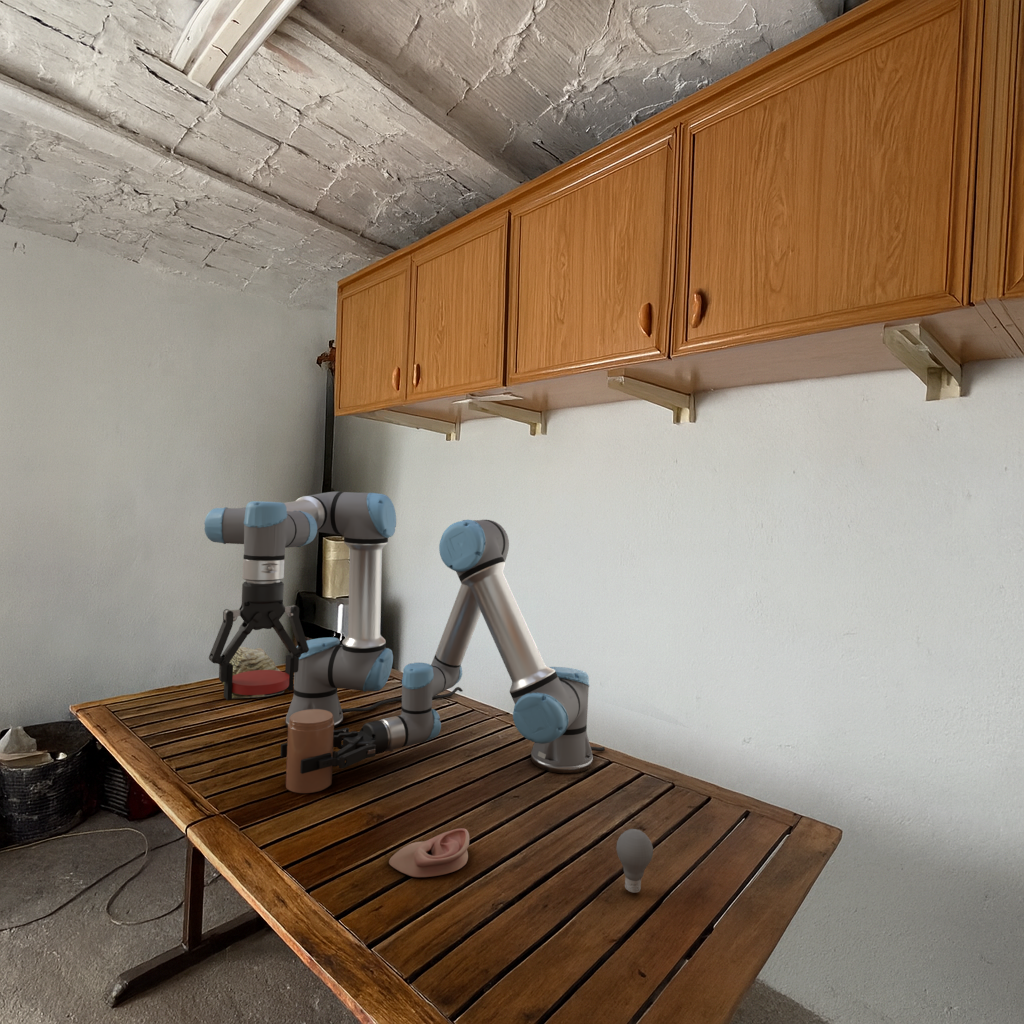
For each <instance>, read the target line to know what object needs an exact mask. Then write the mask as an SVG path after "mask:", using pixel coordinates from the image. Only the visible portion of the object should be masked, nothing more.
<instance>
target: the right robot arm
mask: <svg viewBox="0 0 1024 1024" xmlns="http://www.w3.org/2000/svg"><path fill="white" fill-rule="evenodd" d="M438 546H439V547H438V550H439V556H440V558H441V561H442V562H443V563H444V565H445V566H446V567H447V568H449V569H450V570H452V571H454V572H455V573H456V575H457V577H458V579H459V582H460V584H461V585H460V587H459V590H458V593H457V595H456V596H455V597H456V598H455V600H454V602H453V606H452V609H451V611H450V613H449V616H448V619H447V622H446V625H445V626H444V629H443V632H442V635H441V637H440V640H439V643H438V646H437V649H436V651H435V654H434V655H433V659H432V662H431V664H430V663H426V662H413V663H412V662H411V663H408V664H406V665H405V666H404V668H403V671H402V678H401V697H402V701H401V712H400V715H394V716H390V717H385V718H381V719H379V720H373V721H369V722H365V723H364V724H363V725H362V727H361V728H360V730H359V731H357V730H353V731H350V727H344V728H339V729H334V742H333V748H337V749H338V750H337V751H336V750H333V756H332V757H331V753H326V754H322V755H318V756H315V757H311V758H307V759H303V760H301V771H300V773H301V774H303V773H307V772H311V771H315V770H318V769H322V768H326V767H330V766H333V767H332V768H336V767H338V769H339V770H344V769H346V768H348V767H350V766H353V765H354V764H357V763H360V762H361V761H363V760H366V759H369V758H374V757H375V756H376V755H380V754H383V753H385V752H394V750H397V749H401V748H405V747H408V746H409V747H410V746H413V745H416V744H423V743H425V742H428V741H432V740H433V739H435V738H437V737H438V736H439V734H440V732H441V729H442V722H441V721H440V720H441V717H440V714H439V712H438V711H437V710H436V709H434V708H433V699H432V697H434V696H435V695H440V694H441V693H443V692H445V691H447V690H449V689H451V688H453V687H455V686H456V685H457V684H458V683H459V682H460V681H461V679H462V677H463V667H462V664H463V661H464V658H465V656H466V654H467V651H468V648H469V645H470V643H471V640H472V638H473V635H474V632H475V630H476V628H477V624H478V622H479V619H480V617H481V615H482V617H483V620H484V622H485V624H486V626H487V629H488V630H489V633H490V635H491V637H492V639H493V642H494V644H495V647H496V649H497V650H498V653H499V655H500V658H501V660H502V663H503V664H504V667H505V669H506V671H507V674H508V675H509V678H510V680H511V684H510V685H511V686H510V688H509V694H510V696H511V698H512V701H513V703H514V707H513V711H512V719H513V724H514V726H515V728H516V730H517V731H518V733H519V734H520V735H521V736H522V737H523V738H525V739H526V740H527V741H531V742H532V743H533V746H532V748H531V751H530V752H531V753H530V760H531V762H532V763H533V765H535V766H536V767H537V768H540V769H542V770H544V771H547V772H550V773H556V774H578V773H582V772H585V771H588V770H590V769H591V767H592V766H593V760H594V759H593V758H594V756H593V751H594V752H604V751H606V749H605V746H601V747H600V746H591V744H590V740H589V736H588V732H587V729H588V728H587V727H588V712H589V711H588V709H589V689H590V679H589V674H588V673H587V672H586V671H584V670H581V669H578V668H573V667H564V666H547V665H546V663H545V661H544V658H543V657H542V655H541V652H540V650H539V648H538V646H537V643H536V642H535V639H534V637H533V635H532V633H531V630H530V629H529V626H528V624H527V622H526V619H525V617H524V615H523V613H522V611H521V609H520V606H519V605H518V602H517V599H516V598H515V595H514V594H513V591H512V589H511V586H510V585H509V582H508V580H507V578H506V576H505V574H504V569H505V566H506V560H507V557H508V553H509V548H510V540H509V536H508V533H507V532H506V530H505V528H504V527H503V526H502V525H501V524H500V523H498V522H496V521H494V520H492V519H476V520H475V519H474V520H473V519H462V520H461V521H456V522H453V523H452V524H450V525H449V526H448V527H447V528H446V529H445V530H444V531H443V533H442V534H441V537H440V540H439V545H438ZM280 757H281V758H285V757H287V742H285V743H281V744H280Z"/></svg>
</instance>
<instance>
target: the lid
mask: <svg viewBox="0 0 1024 1024" xmlns="http://www.w3.org/2000/svg"><path fill="white" fill-rule="evenodd" d="M288 686H289V674H287V673H285V671H281V670H280V671H276V670H255V671H247V672H242V673H239V674H236V675H233V681H232V692H233V693H236V694H242V695H264V694H271V693H276V692H279V691H282V690H284V689H286V688H288ZM286 690H287V689H286Z"/></svg>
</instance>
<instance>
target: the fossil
mask: <svg viewBox="0 0 1024 1024" xmlns="http://www.w3.org/2000/svg"><path fill="white" fill-rule="evenodd" d="M230 663H231V664H232V665H233V675H236V674H239V673H242V672H247V671H255V670H276V671H281V669H279V668H278V667H277V665H276V663H275V662H274V660H273V659H272V658H271V657H270V656H269V655H268V654H267V653H266V652H265V650H264V649H263V648H260V647H258V648H251V647H247V646H246V647H245V646H240V647H239V649H238V650H237V652H236V653H235V655H234V656H233V658H232V659H231V661H230ZM222 685H223V686H224V682H222ZM286 690H287V689H284V690H282V691H279V692H276V693H271V694H264V695H242V694H236V693H233V692H232V699H250V698H264V697H271V696H275V695H281V694H284V693H285V691H286Z"/></svg>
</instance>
